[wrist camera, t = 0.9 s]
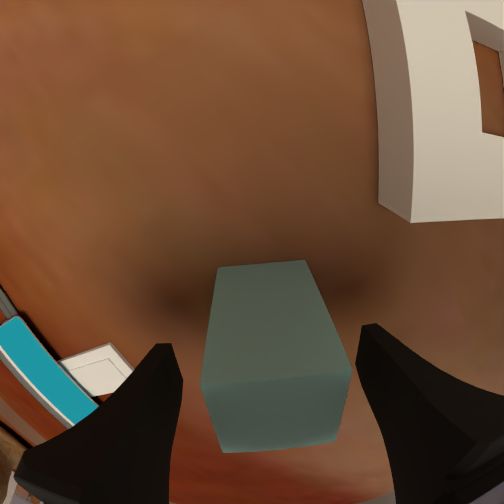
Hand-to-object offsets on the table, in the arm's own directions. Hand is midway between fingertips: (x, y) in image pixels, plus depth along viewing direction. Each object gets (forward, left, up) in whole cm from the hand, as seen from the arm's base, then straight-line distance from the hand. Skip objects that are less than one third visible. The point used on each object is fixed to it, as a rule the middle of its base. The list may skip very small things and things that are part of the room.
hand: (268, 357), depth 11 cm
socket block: (-12, -11, -4) cm, 17 cm away
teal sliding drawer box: (+14, +6, -5) cm, 16 cm away
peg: (0, 0, -4) cm, 4 cm away
